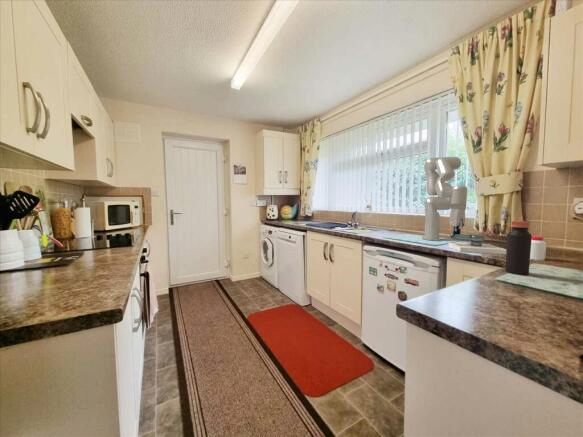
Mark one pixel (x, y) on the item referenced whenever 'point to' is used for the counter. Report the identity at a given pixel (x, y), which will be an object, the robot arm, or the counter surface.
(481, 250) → the plate
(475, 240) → the grey elongated shape
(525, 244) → the vinegar
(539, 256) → the pill bottle
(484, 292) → the counter surface
